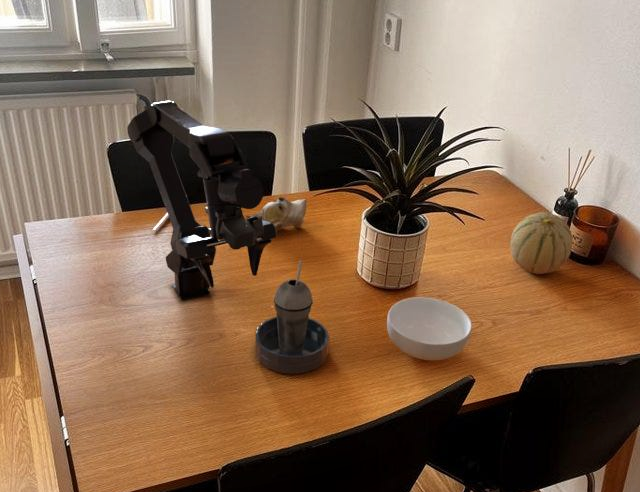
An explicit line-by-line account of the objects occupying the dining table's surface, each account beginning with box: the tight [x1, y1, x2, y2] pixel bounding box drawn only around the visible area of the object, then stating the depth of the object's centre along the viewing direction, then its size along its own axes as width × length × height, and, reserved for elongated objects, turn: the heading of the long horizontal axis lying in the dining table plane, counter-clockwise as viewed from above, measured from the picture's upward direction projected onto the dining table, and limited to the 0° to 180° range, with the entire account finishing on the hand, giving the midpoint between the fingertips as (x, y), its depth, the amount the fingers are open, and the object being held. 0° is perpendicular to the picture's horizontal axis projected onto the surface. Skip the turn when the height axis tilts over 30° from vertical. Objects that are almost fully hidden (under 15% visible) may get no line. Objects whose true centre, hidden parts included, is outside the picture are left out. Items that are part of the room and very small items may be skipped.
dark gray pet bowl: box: [254, 316, 330, 375], centre depth 136 cm, size 14×14×4 cm
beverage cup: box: [273, 258, 314, 356], centre depth 132 cm, size 7×7×20 cm
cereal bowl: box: [386, 296, 473, 361], centre depth 141 cm, size 17×17×7 cm
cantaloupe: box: [509, 211, 573, 275], centre depth 170 cm, size 15×15×15 cm
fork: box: [152, 194, 188, 233], centre depth 182 cm, size 3×20×2 cm, turn 170°
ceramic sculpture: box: [245, 196, 307, 231], centre depth 180 cm, size 11×9×15 cm
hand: (233, 281), depth 137 cm, fingers open, 9 cm apart
